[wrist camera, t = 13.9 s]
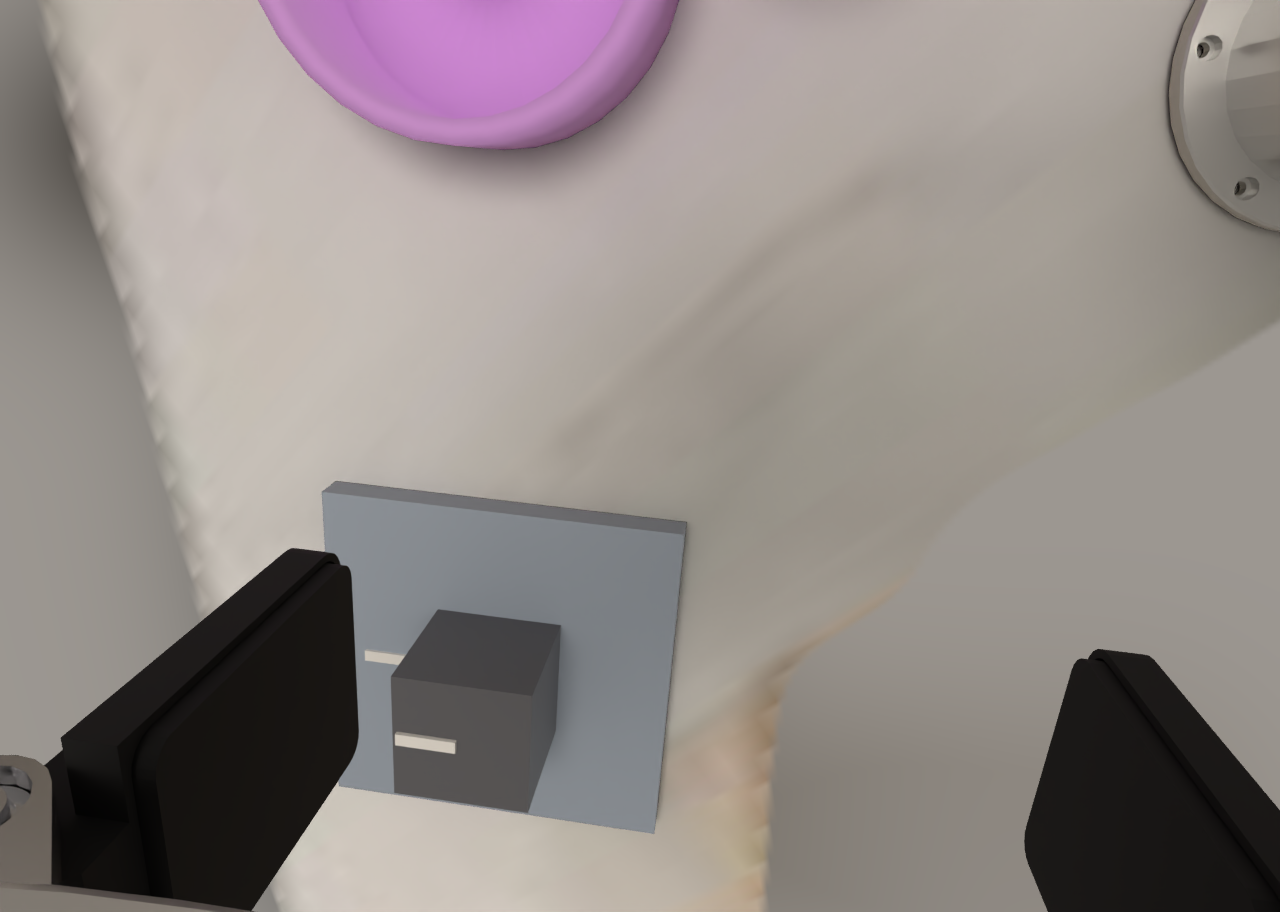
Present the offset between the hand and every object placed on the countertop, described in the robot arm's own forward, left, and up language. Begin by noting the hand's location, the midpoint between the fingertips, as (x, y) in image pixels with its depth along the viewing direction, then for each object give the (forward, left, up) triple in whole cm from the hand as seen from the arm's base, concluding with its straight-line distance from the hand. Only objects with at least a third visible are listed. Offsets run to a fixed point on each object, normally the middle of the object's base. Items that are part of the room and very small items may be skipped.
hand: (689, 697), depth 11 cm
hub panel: (+10, +19, -28) cm, 36 cm away
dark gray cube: (+10, +19, -27) cm, 34 cm away
